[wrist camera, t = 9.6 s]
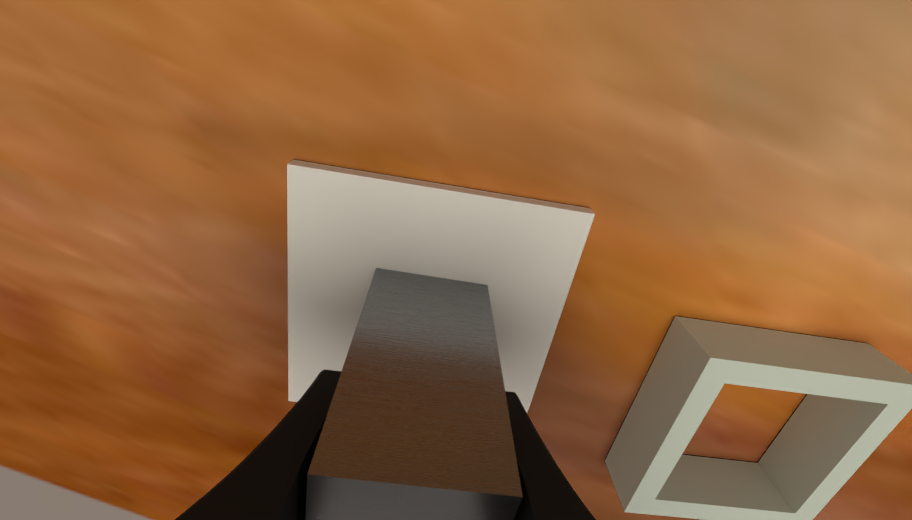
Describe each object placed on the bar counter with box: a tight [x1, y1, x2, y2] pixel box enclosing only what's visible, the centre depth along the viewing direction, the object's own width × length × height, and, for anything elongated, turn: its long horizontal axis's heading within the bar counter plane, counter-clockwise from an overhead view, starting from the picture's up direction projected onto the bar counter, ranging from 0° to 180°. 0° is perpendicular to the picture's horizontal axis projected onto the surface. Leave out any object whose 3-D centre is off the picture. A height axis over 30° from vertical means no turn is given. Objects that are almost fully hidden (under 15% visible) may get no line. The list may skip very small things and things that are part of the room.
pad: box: [287, 160, 595, 413], centre depth 16 cm, size 10×10×1 cm
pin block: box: [305, 268, 523, 520], centre depth 12 cm, size 4×4×8 cm
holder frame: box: [605, 316, 912, 520], centre depth 18 cm, size 8×8×2 cm
